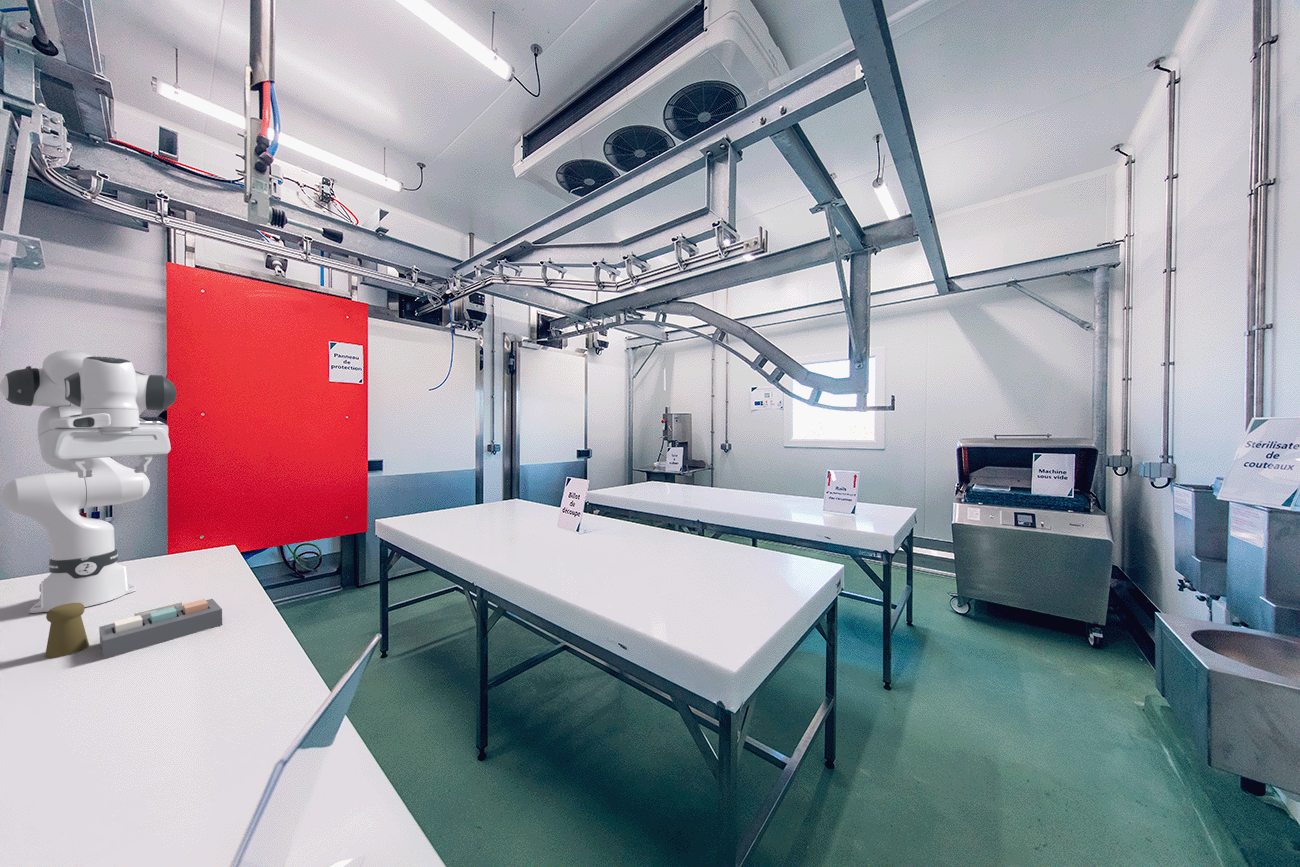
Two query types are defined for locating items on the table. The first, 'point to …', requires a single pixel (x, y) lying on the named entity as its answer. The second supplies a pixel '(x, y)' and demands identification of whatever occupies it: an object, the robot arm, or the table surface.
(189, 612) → the terracotta key
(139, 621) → the cream key
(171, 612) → the teal key
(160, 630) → the keypad
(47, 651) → the cork
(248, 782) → the table surface
